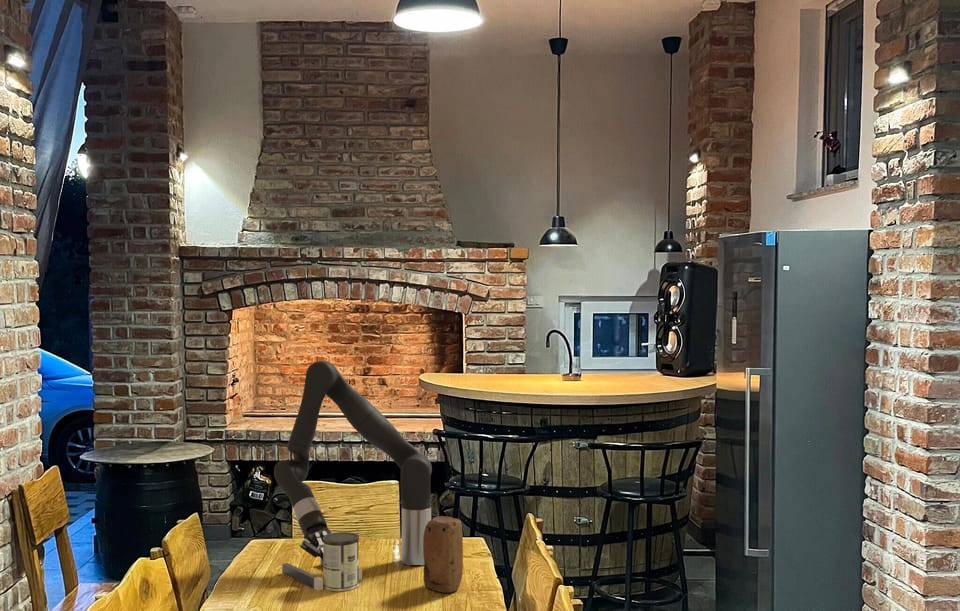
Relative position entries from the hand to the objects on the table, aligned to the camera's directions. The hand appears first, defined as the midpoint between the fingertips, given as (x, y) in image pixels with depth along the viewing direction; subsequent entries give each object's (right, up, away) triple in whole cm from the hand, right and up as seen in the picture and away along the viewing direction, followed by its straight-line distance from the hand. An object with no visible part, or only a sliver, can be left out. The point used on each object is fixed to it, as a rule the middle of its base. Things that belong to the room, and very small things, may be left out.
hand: (330, 566), depth 255 cm
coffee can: (+4, -4, -4) cm, 7 cm away
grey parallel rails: (-3, -4, +4) cm, 7 cm away
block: (+33, -5, -6) cm, 34 cm away
